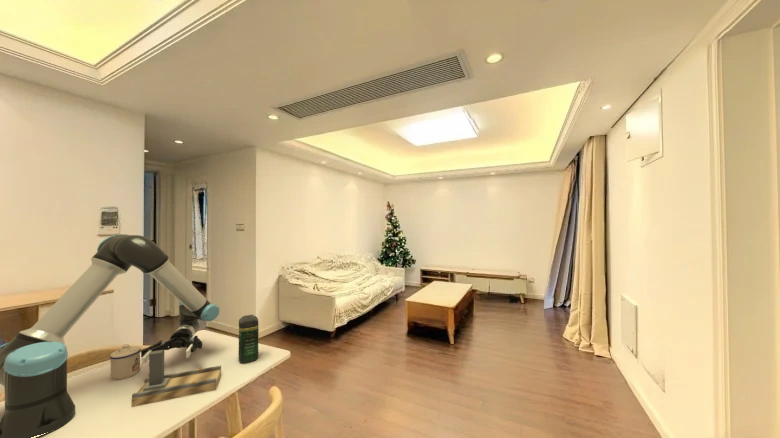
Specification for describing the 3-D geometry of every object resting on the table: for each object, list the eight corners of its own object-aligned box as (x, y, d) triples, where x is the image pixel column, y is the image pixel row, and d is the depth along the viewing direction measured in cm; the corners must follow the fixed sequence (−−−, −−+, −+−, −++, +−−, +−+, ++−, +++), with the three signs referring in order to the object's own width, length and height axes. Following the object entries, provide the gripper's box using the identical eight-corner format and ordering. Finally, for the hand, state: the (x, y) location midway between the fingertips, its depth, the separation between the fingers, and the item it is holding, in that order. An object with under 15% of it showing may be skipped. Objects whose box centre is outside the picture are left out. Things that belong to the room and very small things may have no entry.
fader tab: (143, 391, 96) (143, 356, 96) (149, 383, 101) (149, 350, 101) (164, 387, 99) (164, 353, 99) (169, 380, 103) (169, 347, 103)
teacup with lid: (138, 375, 111) (138, 346, 111) (106, 383, 106) (106, 352, 106) (143, 363, 121) (143, 336, 121) (114, 369, 116) (114, 341, 116)
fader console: (131, 406, 93) (131, 394, 93) (145, 388, 103) (145, 377, 103) (215, 389, 102) (215, 378, 102) (221, 374, 112) (221, 364, 112)
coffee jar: (259, 360, 123) (259, 318, 123) (239, 365, 119) (239, 321, 119) (256, 351, 131) (256, 312, 131) (237, 356, 127) (237, 315, 127)
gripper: (214, 340, 131) (204, 361, 111) (147, 349, 121) (123, 374, 102) (214, 324, 131) (204, 342, 111) (147, 332, 121) (123, 354, 102)
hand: (165, 357), depth 106 cm, fingers open, 13 cm apart
